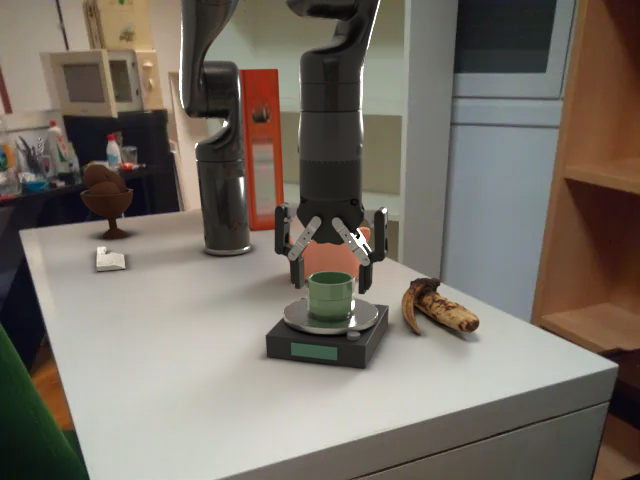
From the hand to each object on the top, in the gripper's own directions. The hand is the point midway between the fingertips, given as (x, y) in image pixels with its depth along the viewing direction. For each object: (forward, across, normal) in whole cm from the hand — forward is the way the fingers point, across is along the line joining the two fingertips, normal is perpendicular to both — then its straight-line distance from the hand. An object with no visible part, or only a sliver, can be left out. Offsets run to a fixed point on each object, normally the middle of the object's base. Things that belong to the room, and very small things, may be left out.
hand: (330, 289), depth 77 cm
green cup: (+3, 0, 0) cm, 3 cm away
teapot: (+7, +9, -28) cm, 30 cm away
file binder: (+7, +36, -67) cm, 77 cm away
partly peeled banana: (+7, -12, -11) cm, 18 cm away
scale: (+7, 0, 0) cm, 7 cm away
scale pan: (+4, 0, 0) cm, 4 cm away
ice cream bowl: (+7, +63, -45) cm, 78 cm away
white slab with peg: (+7, +52, -27) cm, 59 cm away
